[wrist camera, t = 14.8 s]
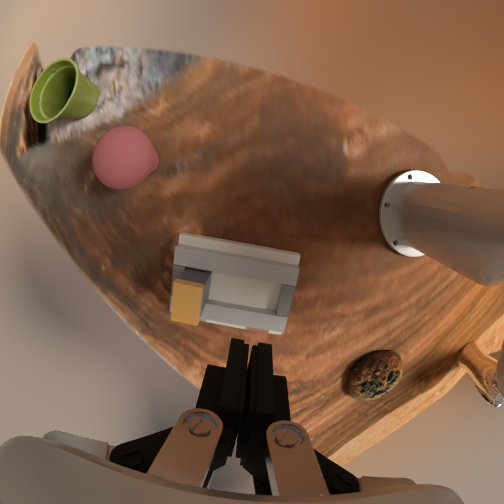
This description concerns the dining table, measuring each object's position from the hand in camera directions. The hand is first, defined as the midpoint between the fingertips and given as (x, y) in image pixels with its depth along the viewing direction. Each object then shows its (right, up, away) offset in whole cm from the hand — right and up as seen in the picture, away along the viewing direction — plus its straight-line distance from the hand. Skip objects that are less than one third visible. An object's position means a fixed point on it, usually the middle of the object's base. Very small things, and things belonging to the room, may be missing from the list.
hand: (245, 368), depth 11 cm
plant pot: (-26, +28, +22) cm, 44 cm away
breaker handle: (-7, +1, +26) cm, 27 cm away
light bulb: (-13, +17, +24) cm, 33 cm away
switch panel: (-2, 0, +28) cm, 28 cm away
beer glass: (+45, -16, +31) cm, 57 cm away
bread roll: (+22, -17, +32) cm, 42 cm away
